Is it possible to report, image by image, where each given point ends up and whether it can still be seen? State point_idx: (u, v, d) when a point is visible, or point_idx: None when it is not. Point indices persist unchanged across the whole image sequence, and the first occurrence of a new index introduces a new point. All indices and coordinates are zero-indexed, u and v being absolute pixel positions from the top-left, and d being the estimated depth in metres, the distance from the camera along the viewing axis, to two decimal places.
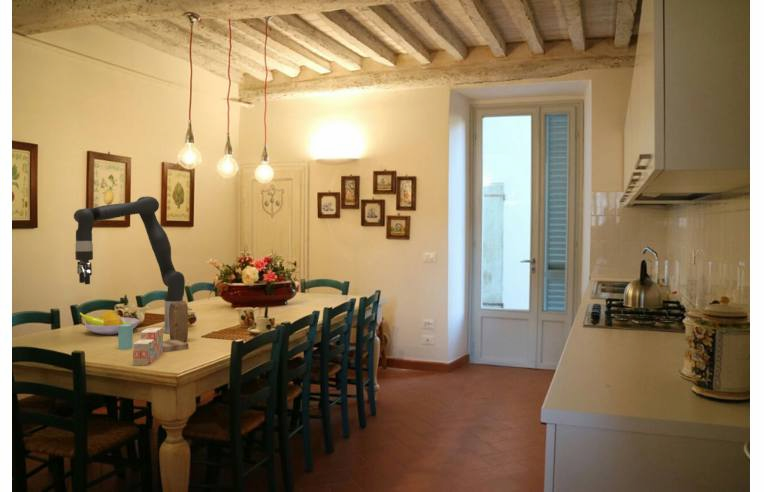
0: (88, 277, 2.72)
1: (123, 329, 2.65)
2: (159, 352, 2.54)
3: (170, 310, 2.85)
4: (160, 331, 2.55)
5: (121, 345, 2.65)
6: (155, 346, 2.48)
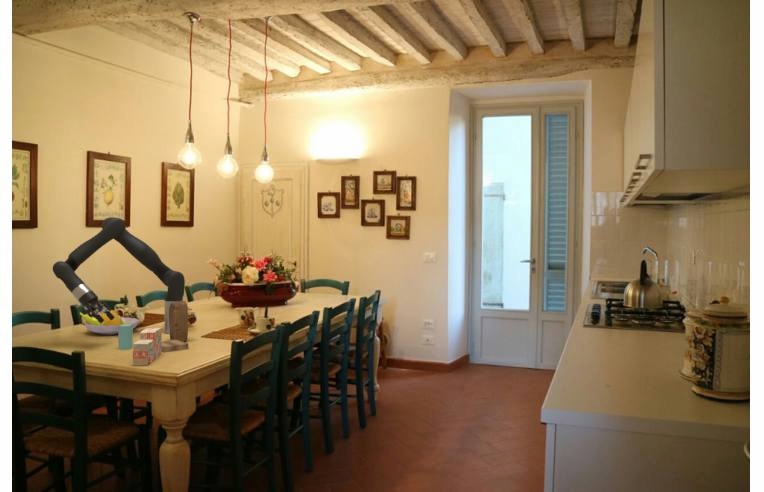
0: (96, 316, 2.63)
1: (123, 329, 2.65)
2: (158, 352, 2.54)
3: (170, 310, 2.85)
4: (159, 331, 2.55)
5: (121, 345, 2.65)
6: (154, 346, 2.48)
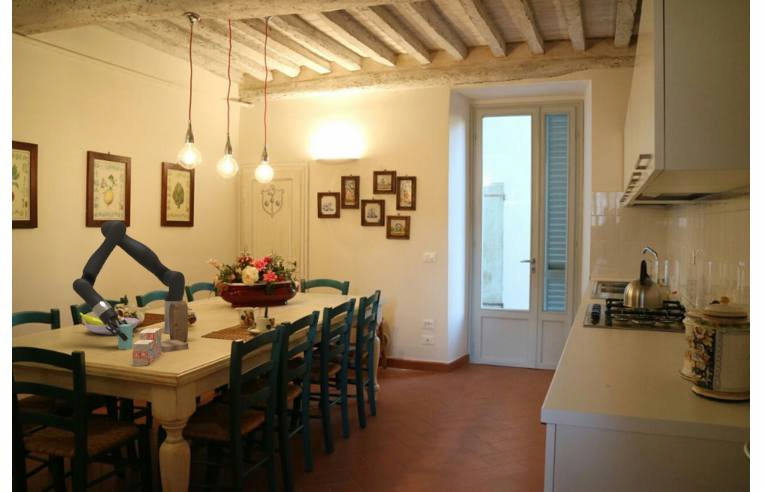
0: (120, 334, 2.64)
1: (123, 329, 2.65)
2: (158, 352, 2.53)
3: (170, 310, 2.85)
4: (159, 331, 2.54)
5: (121, 345, 2.65)
6: (154, 346, 2.47)
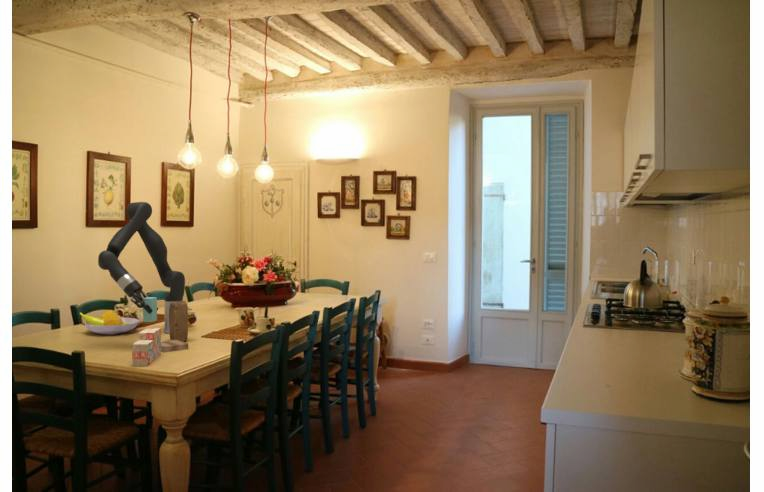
0: (145, 307, 2.64)
1: (148, 301, 2.66)
2: (157, 353, 2.53)
3: (170, 310, 2.85)
4: (158, 332, 2.54)
5: (145, 317, 2.66)
6: (154, 347, 2.47)
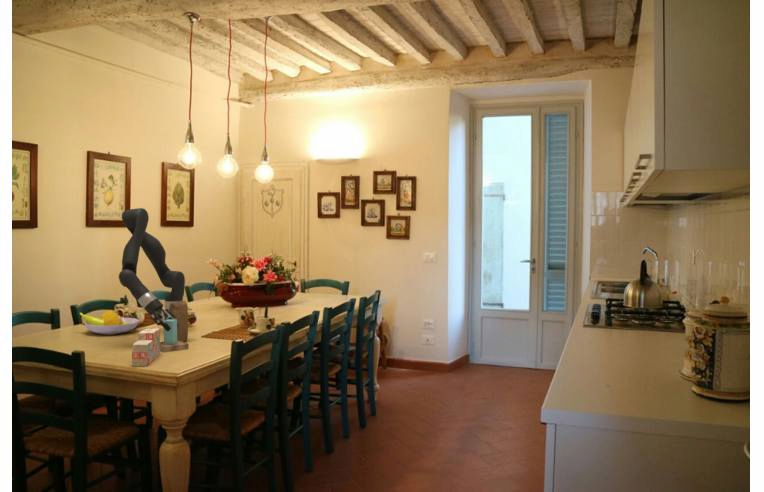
0: (163, 324, 2.64)
1: (168, 323, 2.67)
2: (157, 353, 2.53)
3: (170, 310, 2.85)
4: (158, 332, 2.53)
5: (166, 340, 2.67)
6: (153, 347, 2.46)
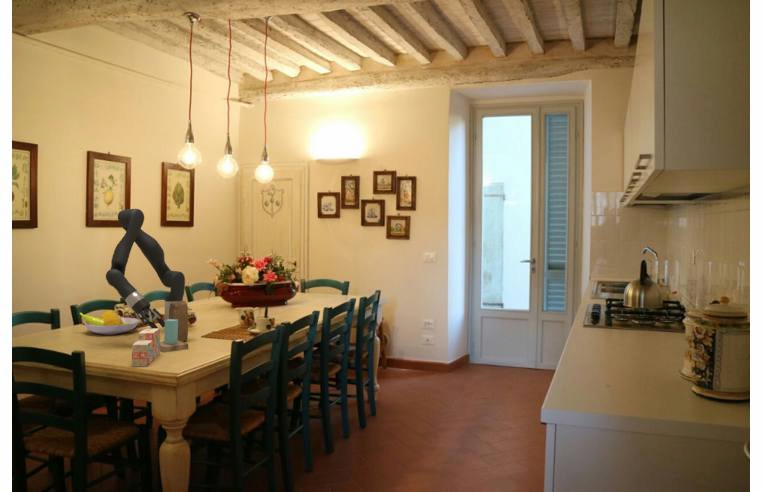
0: (150, 324, 2.64)
1: (170, 323, 2.67)
2: (157, 353, 2.52)
3: (170, 310, 2.85)
4: (157, 332, 2.53)
5: (167, 340, 2.67)
6: (153, 347, 2.46)
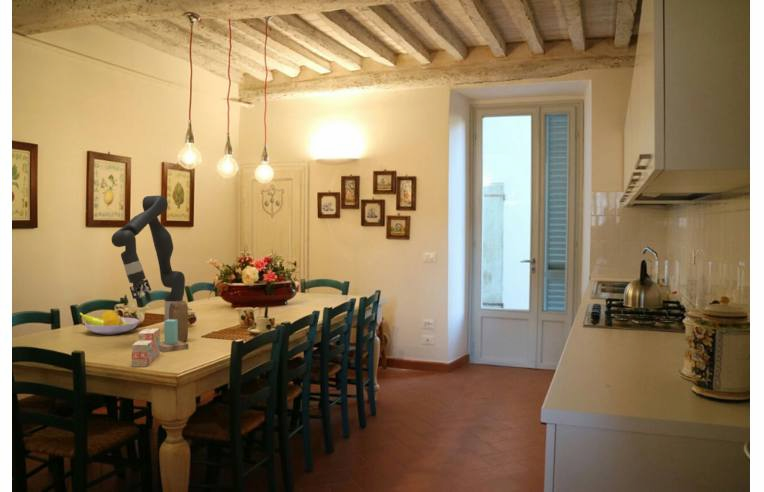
0: (138, 299, 2.68)
1: (169, 324, 2.67)
2: (156, 353, 2.52)
3: (170, 310, 2.85)
4: (157, 332, 2.53)
5: (167, 340, 2.67)
6: (153, 347, 2.46)
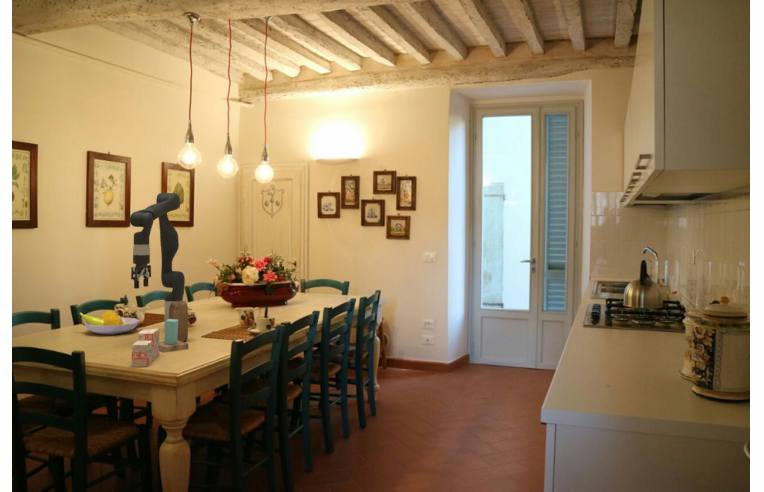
0: (135, 281, 2.68)
1: (170, 324, 2.66)
2: (156, 353, 2.52)
3: (170, 310, 2.85)
4: (157, 332, 2.53)
5: (167, 340, 2.67)
6: (153, 347, 2.46)
